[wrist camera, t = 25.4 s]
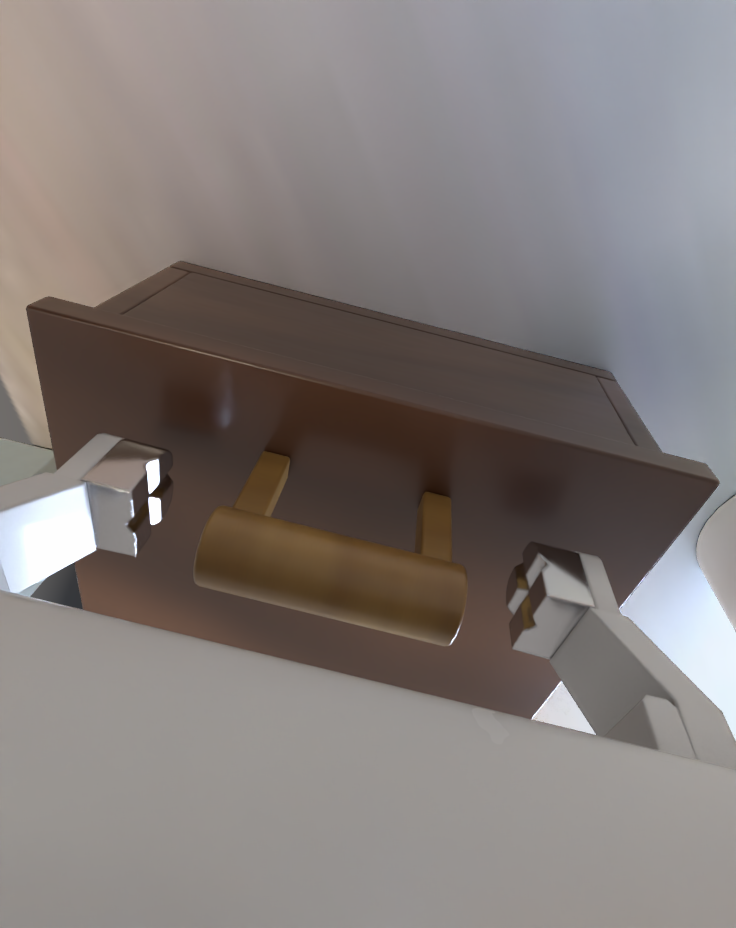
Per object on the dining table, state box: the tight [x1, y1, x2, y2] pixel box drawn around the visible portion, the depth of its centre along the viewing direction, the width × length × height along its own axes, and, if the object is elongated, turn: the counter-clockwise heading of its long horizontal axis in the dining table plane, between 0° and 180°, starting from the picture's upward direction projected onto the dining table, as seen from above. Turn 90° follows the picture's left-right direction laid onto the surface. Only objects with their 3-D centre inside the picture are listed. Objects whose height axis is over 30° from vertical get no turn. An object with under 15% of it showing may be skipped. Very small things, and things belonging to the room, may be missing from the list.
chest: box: [94, 261, 662, 452], centre depth 20 cm, size 17×16×7 cm
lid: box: [26, 297, 720, 719], centre depth 15 cm, size 17×16×5 cm
